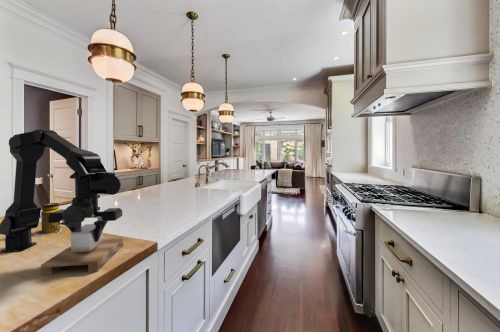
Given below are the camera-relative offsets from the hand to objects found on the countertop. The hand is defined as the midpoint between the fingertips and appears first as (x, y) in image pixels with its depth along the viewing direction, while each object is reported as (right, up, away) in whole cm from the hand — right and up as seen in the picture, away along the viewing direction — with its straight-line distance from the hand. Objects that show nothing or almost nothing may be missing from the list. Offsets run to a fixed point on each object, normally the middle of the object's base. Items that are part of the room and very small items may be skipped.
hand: (87, 241), depth 70 cm
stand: (0, -6, 0) cm, 6 cm away
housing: (0, -2, 0) cm, 2 cm away
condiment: (-34, -4, +24) cm, 42 cm away
